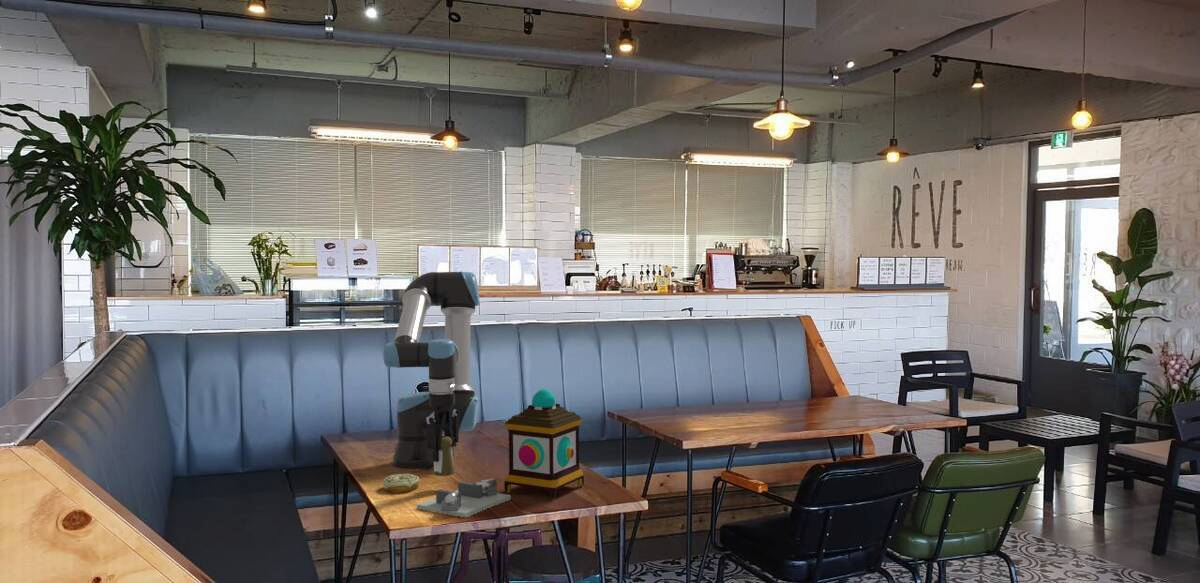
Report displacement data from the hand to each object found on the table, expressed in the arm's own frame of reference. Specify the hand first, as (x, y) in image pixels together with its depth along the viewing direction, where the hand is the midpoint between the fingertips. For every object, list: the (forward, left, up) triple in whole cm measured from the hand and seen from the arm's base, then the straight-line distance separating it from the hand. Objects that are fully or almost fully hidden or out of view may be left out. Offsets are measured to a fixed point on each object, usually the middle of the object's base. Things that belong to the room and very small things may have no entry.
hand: (443, 469), depth 262 cm
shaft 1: (+18, -17, -5) cm, 25 cm away
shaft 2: (+17, -2, -5) cm, 18 cm away
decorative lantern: (+26, +14, -6) cm, 31 cm away
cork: (0, 0, -1) cm, 1 cm away
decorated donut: (-12, -6, -6) cm, 14 cm away
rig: (+15, -9, -6) cm, 19 cm away
